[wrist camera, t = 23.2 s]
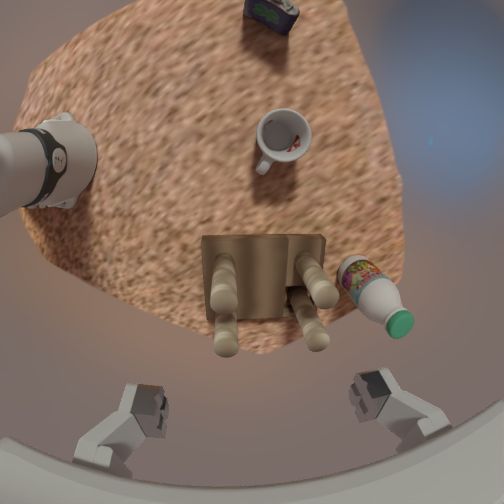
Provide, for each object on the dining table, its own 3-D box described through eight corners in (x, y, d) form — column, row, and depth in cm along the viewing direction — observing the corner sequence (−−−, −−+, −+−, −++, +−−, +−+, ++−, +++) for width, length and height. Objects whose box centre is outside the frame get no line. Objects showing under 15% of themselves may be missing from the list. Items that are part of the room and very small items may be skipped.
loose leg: (292, 302, 55) (313, 355, 40) (283, 290, 54) (303, 342, 39) (307, 293, 54) (333, 343, 40) (299, 280, 53) (324, 330, 38)
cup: (275, 182, 46) (285, 189, 38) (234, 160, 44) (236, 162, 36) (306, 129, 43) (321, 127, 35) (266, 106, 41) (274, 98, 33)
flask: (240, 14, 33) (244, -15, 23) (249, 4, 33) (255, -25, 23) (284, 38, 36) (298, 13, 26) (292, 29, 35) (309, 3, 25)
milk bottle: (375, 270, 54) (428, 323, 35) (348, 294, 55) (392, 354, 37) (358, 246, 51) (413, 296, 33) (329, 271, 53) (373, 332, 34)
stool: (207, 311, 54) (202, 367, 39) (202, 235, 48) (192, 276, 33) (312, 307, 56) (336, 358, 41) (320, 234, 50) (356, 271, 35)
